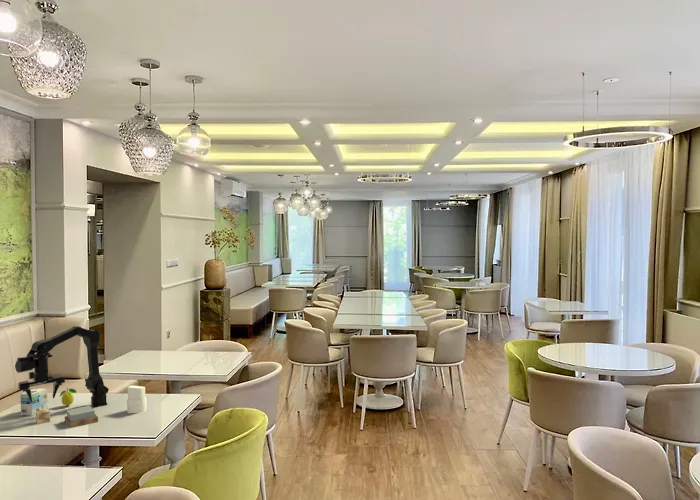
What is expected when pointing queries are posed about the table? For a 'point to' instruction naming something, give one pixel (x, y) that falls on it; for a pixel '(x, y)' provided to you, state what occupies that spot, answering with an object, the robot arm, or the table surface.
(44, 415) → the oak cube
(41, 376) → the robot arm
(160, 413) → the table surface
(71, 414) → the slate slab
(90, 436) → the table surface
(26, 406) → the light bulb box
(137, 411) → the cylinder with rectangular tab
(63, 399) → the lemon
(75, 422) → the walnut slab
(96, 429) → the table surface
